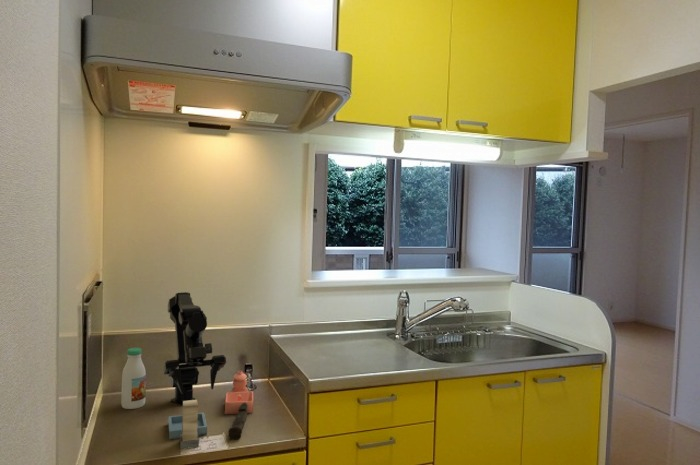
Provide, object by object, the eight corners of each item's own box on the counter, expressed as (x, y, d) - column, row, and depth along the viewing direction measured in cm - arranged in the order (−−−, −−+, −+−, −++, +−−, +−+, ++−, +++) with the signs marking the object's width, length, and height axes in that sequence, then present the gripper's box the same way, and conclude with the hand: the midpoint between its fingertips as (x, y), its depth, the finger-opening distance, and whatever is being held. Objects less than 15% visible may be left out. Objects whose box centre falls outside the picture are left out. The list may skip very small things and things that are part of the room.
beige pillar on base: (180, 441, 145) (181, 400, 144) (197, 438, 147) (198, 398, 146) (180, 449, 140) (181, 407, 140) (198, 446, 142) (199, 405, 142)
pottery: (253, 413, 167) (253, 385, 166) (224, 414, 165) (225, 386, 164) (252, 393, 184) (253, 368, 184) (227, 394, 183) (227, 369, 182)
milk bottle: (121, 411, 164) (122, 353, 163) (120, 402, 171) (121, 347, 170) (146, 407, 167) (147, 351, 166) (144, 399, 174) (145, 345, 173)
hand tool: (241, 440, 147) (241, 425, 147) (228, 439, 147) (228, 425, 147) (253, 414, 166) (253, 401, 166) (241, 413, 166) (242, 400, 166)
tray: (168, 424, 156) (168, 416, 156) (203, 419, 160) (203, 412, 160) (169, 439, 146) (169, 431, 145) (206, 434, 150) (207, 426, 150)
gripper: (166, 337, 148) (169, 387, 141) (227, 332, 157) (232, 379, 150) (162, 349, 157) (164, 398, 149) (220, 344, 165) (225, 389, 158)
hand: (197, 391), depth 151 cm, fingers open, 9 cm apart
